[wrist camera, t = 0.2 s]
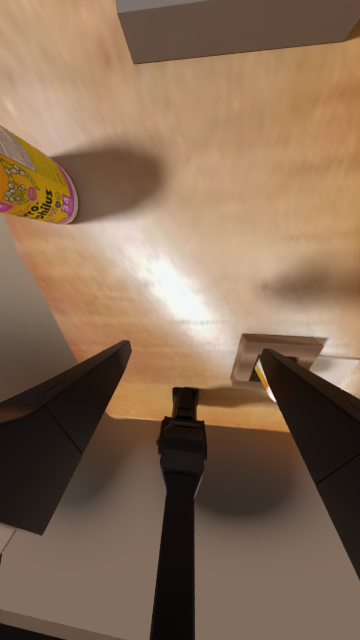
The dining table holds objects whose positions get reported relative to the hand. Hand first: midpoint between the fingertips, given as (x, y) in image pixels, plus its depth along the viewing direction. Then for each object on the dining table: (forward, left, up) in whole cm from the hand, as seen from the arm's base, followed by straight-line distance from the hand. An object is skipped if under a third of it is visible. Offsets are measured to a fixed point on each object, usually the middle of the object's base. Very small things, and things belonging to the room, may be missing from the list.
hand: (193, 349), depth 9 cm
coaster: (-16, -26, -14) cm, 34 cm away
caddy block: (-14, -15, -14) cm, 25 cm away
